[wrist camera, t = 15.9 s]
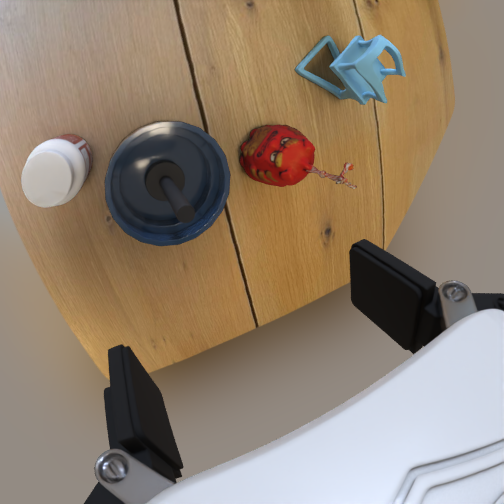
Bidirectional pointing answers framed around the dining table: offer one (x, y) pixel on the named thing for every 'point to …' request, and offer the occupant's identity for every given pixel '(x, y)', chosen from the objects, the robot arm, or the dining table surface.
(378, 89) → the chair
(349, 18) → the dining table surface
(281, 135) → the red clay folk toy
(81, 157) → the pill bottle
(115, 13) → the dining table surface
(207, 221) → the bowl
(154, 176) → the black disc-end rod
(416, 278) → the robot arm
